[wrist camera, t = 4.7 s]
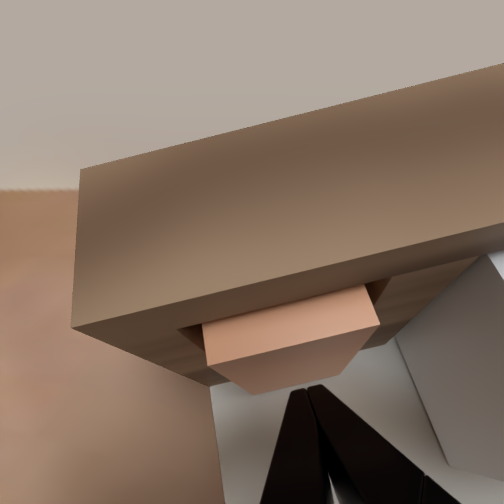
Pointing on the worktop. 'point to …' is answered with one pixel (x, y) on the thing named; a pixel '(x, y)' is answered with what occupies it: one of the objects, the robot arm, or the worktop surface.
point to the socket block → (300, 251)
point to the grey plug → (463, 366)
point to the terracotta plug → (291, 340)
